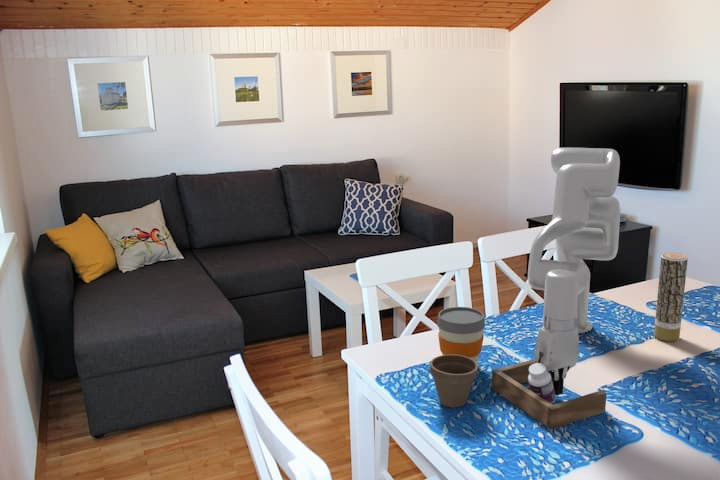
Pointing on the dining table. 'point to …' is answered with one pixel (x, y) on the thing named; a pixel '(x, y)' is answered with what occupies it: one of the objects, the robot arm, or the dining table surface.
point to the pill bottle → (541, 382)
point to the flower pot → (453, 378)
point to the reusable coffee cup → (461, 331)
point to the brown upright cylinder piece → (670, 296)
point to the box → (546, 413)
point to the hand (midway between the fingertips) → (555, 392)
